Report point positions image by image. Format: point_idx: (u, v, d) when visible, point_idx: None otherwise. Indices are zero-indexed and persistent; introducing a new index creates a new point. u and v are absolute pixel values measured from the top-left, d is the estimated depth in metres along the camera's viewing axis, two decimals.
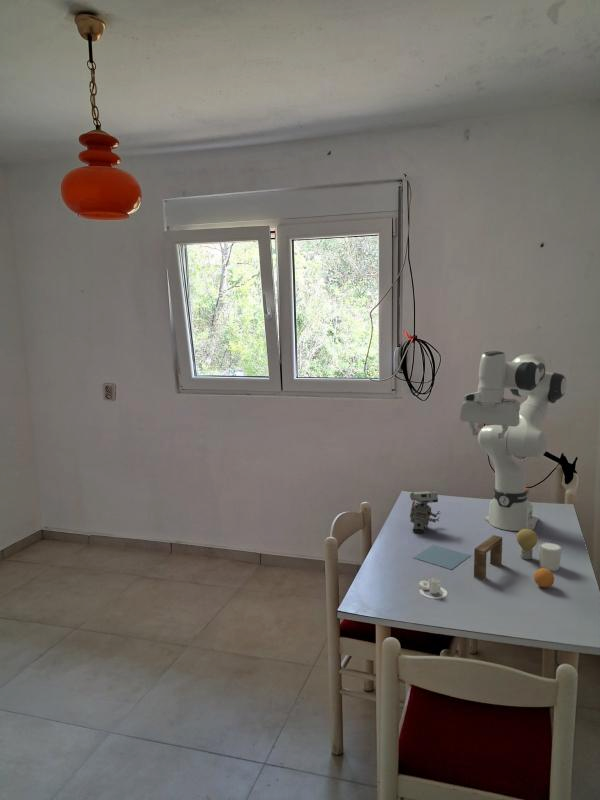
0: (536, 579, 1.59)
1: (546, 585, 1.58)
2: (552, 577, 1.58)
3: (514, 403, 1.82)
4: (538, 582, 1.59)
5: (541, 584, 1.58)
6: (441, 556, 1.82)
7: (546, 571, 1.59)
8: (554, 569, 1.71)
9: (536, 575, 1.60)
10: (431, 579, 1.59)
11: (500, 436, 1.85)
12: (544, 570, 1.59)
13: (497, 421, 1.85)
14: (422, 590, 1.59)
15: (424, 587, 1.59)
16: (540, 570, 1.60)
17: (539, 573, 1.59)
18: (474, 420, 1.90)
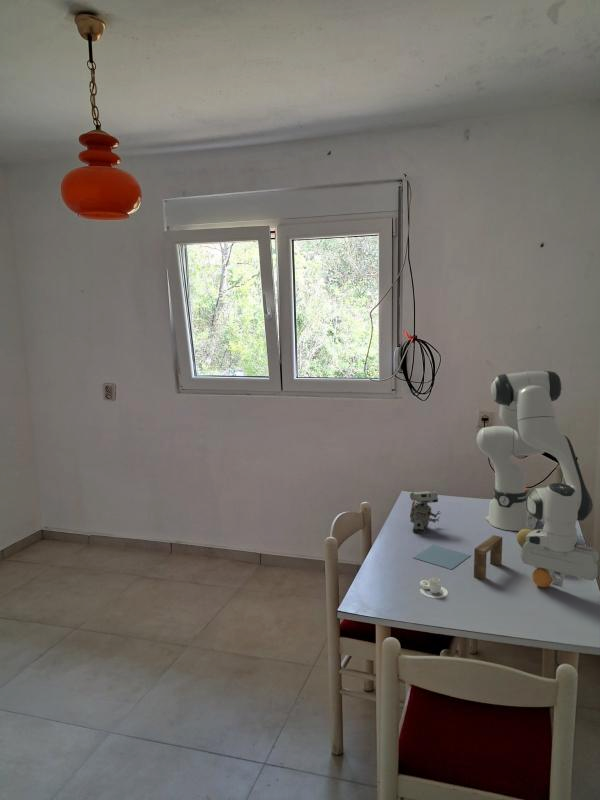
0: (534, 580, 1.60)
1: (545, 584, 1.58)
2: (549, 575, 1.58)
3: (591, 552, 1.51)
4: (537, 582, 1.59)
5: (540, 584, 1.58)
6: (441, 556, 1.82)
7: (542, 570, 1.59)
8: None
9: (533, 576, 1.60)
10: (432, 578, 1.60)
11: (558, 584, 1.57)
12: (540, 569, 1.60)
13: (570, 572, 1.54)
14: (422, 589, 1.60)
15: (425, 586, 1.60)
16: (537, 570, 1.60)
17: (536, 573, 1.60)
18: (540, 565, 1.59)
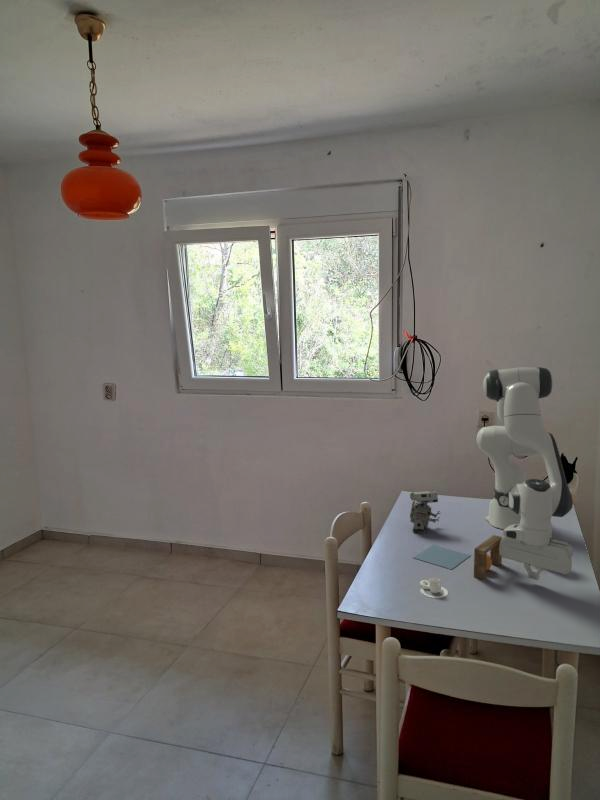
0: None
1: None
2: (490, 563, 1.70)
3: (565, 546, 1.55)
4: None
5: None
6: (441, 556, 1.82)
7: (486, 556, 1.70)
8: None
9: None
10: (432, 578, 1.60)
11: (535, 577, 1.61)
12: None
13: (545, 565, 1.58)
14: (422, 589, 1.60)
15: (425, 586, 1.60)
16: None
17: None
18: (517, 559, 1.63)
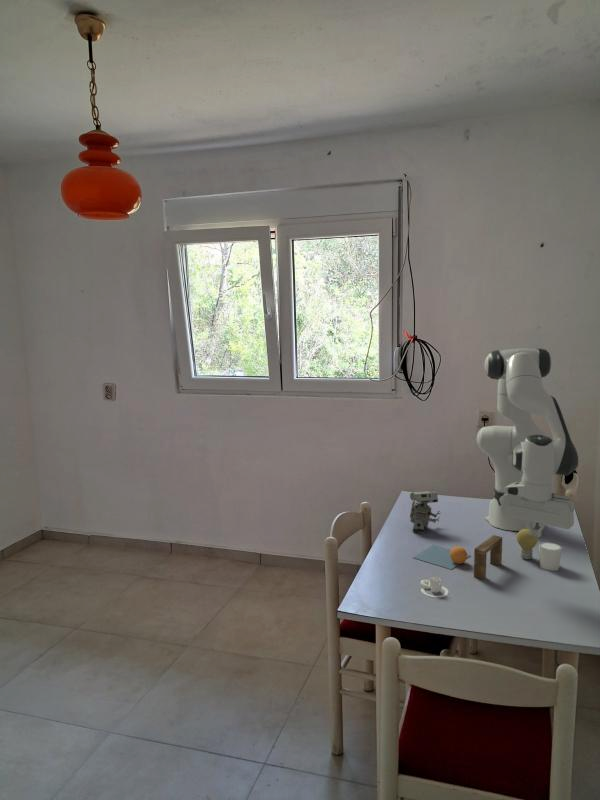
0: (460, 560, 1.75)
1: (454, 552, 1.76)
2: None
3: (567, 501, 1.53)
4: (458, 557, 1.74)
5: (456, 555, 1.75)
6: (441, 556, 1.82)
7: None
8: (554, 569, 1.71)
9: (459, 562, 1.75)
10: (432, 578, 1.60)
11: (537, 534, 1.59)
12: None
13: (547, 521, 1.56)
14: (423, 589, 1.60)
15: (425, 586, 1.60)
16: None
17: None
18: (518, 516, 1.61)
